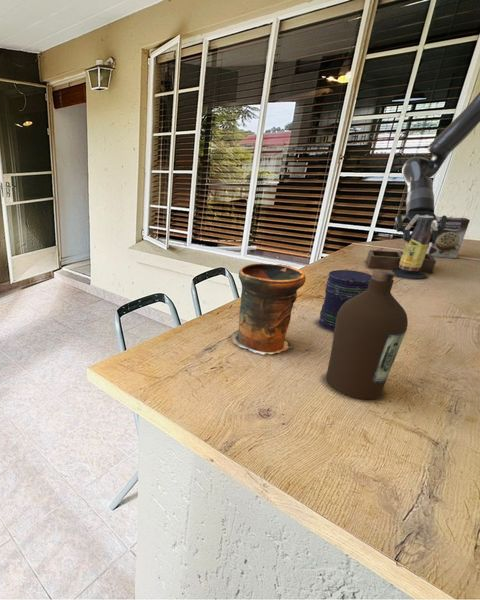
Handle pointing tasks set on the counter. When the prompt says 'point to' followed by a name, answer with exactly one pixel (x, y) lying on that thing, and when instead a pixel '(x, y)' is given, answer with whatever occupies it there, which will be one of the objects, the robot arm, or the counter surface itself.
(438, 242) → the cookie box
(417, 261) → the sauce bottle
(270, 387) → the counter surface
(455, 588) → the counter surface
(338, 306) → the storage jar
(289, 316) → the vessel
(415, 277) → the coaster
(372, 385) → the olive oil
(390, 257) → the tray
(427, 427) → the counter surface
